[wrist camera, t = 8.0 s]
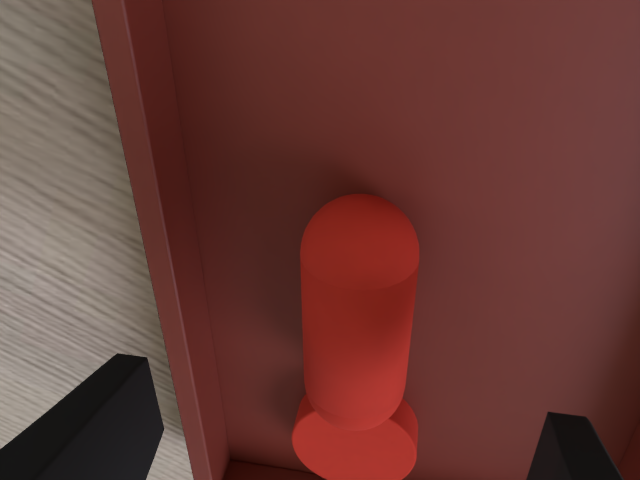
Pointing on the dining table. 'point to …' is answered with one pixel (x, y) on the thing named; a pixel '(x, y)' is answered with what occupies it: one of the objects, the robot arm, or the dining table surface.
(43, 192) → the dining table surface
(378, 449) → the red disc-ended bar
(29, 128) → the dining table surface
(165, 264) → the red tray
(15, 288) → the dining table surface
